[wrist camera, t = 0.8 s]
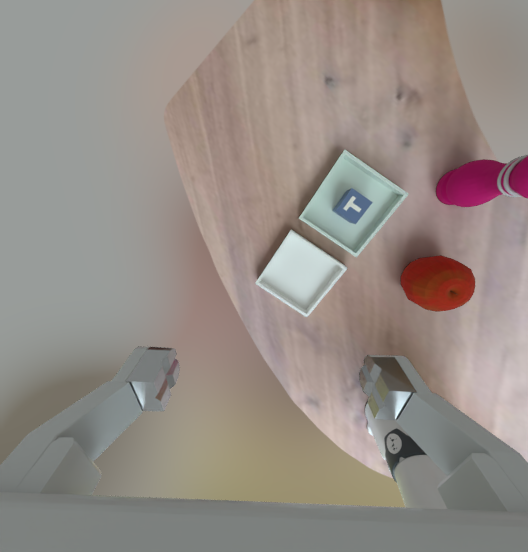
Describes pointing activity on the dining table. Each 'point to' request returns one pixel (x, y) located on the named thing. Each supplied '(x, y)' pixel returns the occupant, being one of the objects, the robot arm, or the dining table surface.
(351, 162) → the tray sage
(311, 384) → the dining table surface
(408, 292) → the apple
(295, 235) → the tray offwhite
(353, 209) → the letter cube
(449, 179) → the pepper mill
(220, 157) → the dining table surface
